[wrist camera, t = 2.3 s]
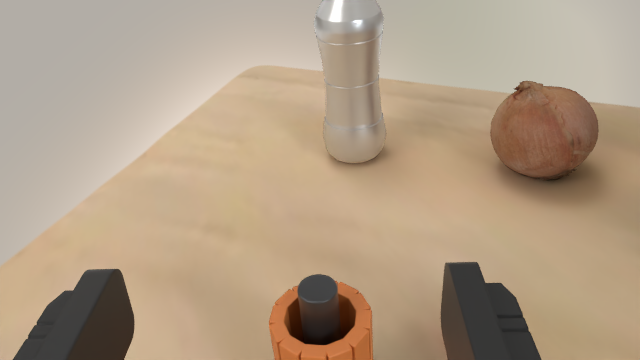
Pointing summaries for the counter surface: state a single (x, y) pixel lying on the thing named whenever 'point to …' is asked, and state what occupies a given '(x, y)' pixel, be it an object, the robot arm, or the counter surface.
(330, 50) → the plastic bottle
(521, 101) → the onion
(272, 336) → the orange grooved tube
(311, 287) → the stand
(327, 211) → the counter surface
